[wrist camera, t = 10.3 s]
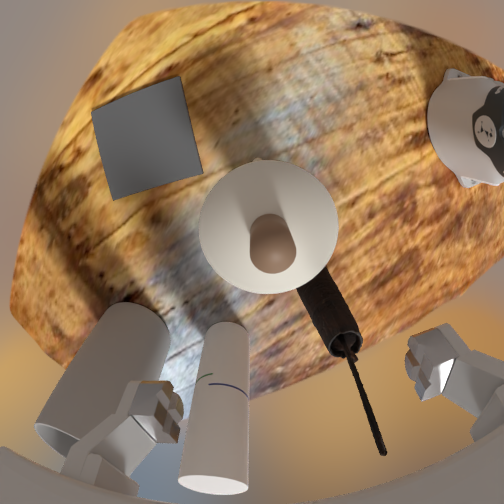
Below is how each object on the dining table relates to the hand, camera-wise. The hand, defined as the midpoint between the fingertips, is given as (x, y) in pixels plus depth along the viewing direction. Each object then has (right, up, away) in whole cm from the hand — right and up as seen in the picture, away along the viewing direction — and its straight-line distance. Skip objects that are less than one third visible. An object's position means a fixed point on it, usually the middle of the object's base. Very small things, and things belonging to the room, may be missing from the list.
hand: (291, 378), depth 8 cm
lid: (0, +6, +14) cm, 15 cm away
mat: (-15, +18, +23) cm, 33 cm away
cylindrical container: (-5, -10, +35) cm, 37 cm away
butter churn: (+8, -1, +31) cm, 32 cm away
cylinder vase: (-21, -9, +35) cm, 42 cm away
